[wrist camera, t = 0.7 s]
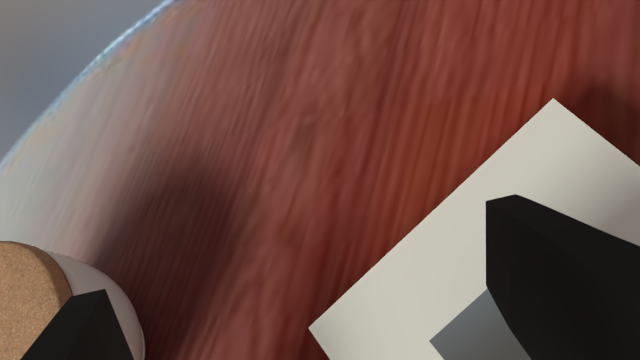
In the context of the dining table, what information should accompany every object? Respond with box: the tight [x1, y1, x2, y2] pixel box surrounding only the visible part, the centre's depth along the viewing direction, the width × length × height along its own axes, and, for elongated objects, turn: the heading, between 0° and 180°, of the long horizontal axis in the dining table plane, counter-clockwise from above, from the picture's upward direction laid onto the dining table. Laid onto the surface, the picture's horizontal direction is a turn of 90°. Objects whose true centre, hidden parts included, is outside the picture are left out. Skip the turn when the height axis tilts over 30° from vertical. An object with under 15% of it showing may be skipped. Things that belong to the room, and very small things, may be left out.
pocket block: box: [309, 99, 640, 360], centre depth 22 cm, size 14×14×2 cm
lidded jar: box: [0, 241, 146, 360], centre depth 29 cm, size 11×11×9 cm
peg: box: [429, 288, 531, 360], centre depth 20 cm, size 4×4×8 cm
